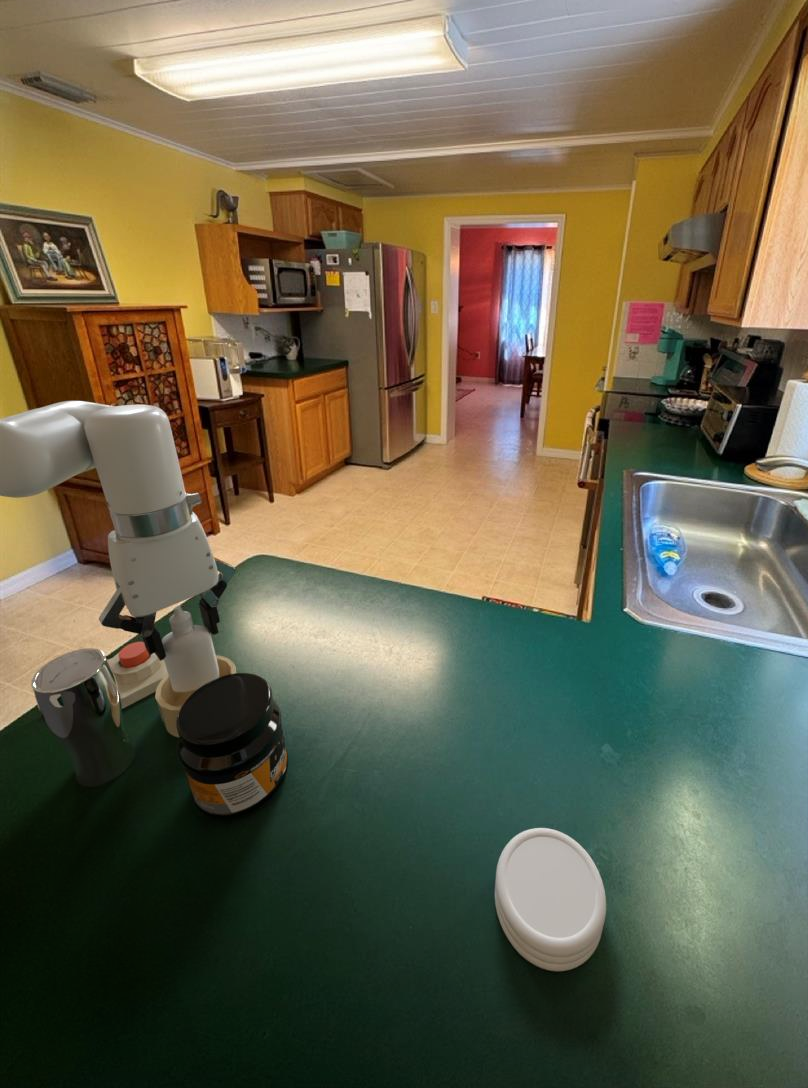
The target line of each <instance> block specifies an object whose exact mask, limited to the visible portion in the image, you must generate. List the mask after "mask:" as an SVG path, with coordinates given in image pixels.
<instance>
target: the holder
mask: <svg viewBox="0 0 808 1088" xmlns="http://www.w3.org/2000/svg"><path fill="white" fill-rule="evenodd" d="M216 659H217V663H218V667H219V677H222V676H225V675H229V674H234V673H238V671H237V666H236V664H235V663H234V661H232V660H231V659H230V658H228V657H226V656H222V655H219V654H218V655H217V654H216ZM219 677H218V678H219ZM196 690H197V689H196ZM196 690H192V691H187V692H175V691H173V689H172V686H171V683H170V679H169V676H168V674H166V675H165V676H164V677H163V679H162V680H161V682H160V683H159V685H158V686H157V688H156V692H155V695H154V698H155V702H156V705H157V709H158V712H159V714H160V715H159V716H160V717H161V721H162V724H163V726H164V728H165V730H166V731H167V732H168V733H169V734H170V735H171V736H172V737H176V738H179V734H178V730H177V725H176V720H177V716H178V713H179V710H180V708H181V707H182V705H183V704H184V702H185V701H186V700H187V699H188V697H189V696H190V695H191V694H192V693H194V692H195V691H196Z"/></svg>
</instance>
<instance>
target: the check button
mask: <svg viewBox="0 0 808 1088" xmlns="http://www.w3.org/2000/svg"><path fill="white" fill-rule="evenodd" d="M118 653H119V659H120V662H121V665H122V666H123V667H125V668H130V667H136V666H138V665H140V664H142V663H144V662H145V661H147V660H148V659H149V657H150V655H149V653H148V652H147V650H146V647H145V644H144V641H135V642H132V643H129V644H127V645H125V646H124V647H122V648H121V649H120V650H119V652H118Z"/></svg>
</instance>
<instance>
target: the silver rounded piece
mask: <svg viewBox="0 0 808 1088" xmlns="http://www.w3.org/2000/svg"><path fill="white" fill-rule="evenodd" d="M106 656H107V655H106V654H105V652H104V651H103V650H101V649H98V648H94V647H93V648H92V647H91V648H89V647H87V648H86V647H85V648H80V649H75V650H72V651H68V652H66V653H63V654H61V655H59V656H57V657H55V658H53V659H51V660H49V661H48V662H47V663H45V664H44V665H43V666H42V667H40V668H39V669H38V670H37V671H36V673H34V675H33V676H32V678H31V681H30V686H31V688H32V690H33V691H32V692H33V694H34V697H35V698H34V699H35V701H36V704H37V708H38V710H39V713H40V715H41V718H42V719H43V722H44V724H45V725H46V727H47V728H48V730H49V731H50V733H51V734H52V735H53V737H55V739H56V740H57V741H58V742H59V743H60V745H62V747H63V748H64V749H65V750H66V751H67V752H68V754H69V755H70V758H71V759H72V762H73V765H74V771H75V772H74V774H75V780H76V782H77V783H78V784H79V785H80V786H81V787H86V788H96V787H99V786H103V785H106V784H108V783H110V782H112V781H113V780H115V779H117V778H118V777H120V776H121V775H122V774H123V773H124V772H125V771H126V770H128V768H130V766H131V765H132V764H133V762H134V760H135V758H136V754H137V747H136V745H135V744H134V742H133V741H132V740H131V738H130V737H129V736H128V734H127V733H126V730H125V726H124V718H123V709H122V703H121V696H120V690H119V687H118V683H117V680H116V678H115V675H114V673H113V671H112V669H111V667H110V665H109V663H108V661H107V660H108V659H107V657H106Z"/></svg>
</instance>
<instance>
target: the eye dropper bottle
mask: <svg viewBox="0 0 808 1088" xmlns="http://www.w3.org/2000/svg"><path fill="white" fill-rule="evenodd" d="M173 611H174V612H173V614H172V615H171V616H170V617H169V618H168V622H169V625H170V630H171V632H169V633H167V634H165V636H163V638H161V640H162V643H163V647H164V650H165V654H166V657H165V659H164V662H165V666H166V669H167V672H168V676H169V679H170V683H171V686H172V689H173V691H175V692H187V691H192V690H196V689H198V688H200V687H201V686H203V685H204V684H206V683H208V682H210V681H212V680H214V679H216V678H218V677H219V667H218V663H217V659H216V655H217V654H216V651H215V650H216V649H215V645H214V642H213V637H212V634H211V633H210V631H209V629H208V627H206V626H204V625H199V624H194V621H193V618H192V614H191V612H190V611H187V610H183V609H182V607H181V606H180V605H176V606H175V607H174V608H173Z"/></svg>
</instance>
